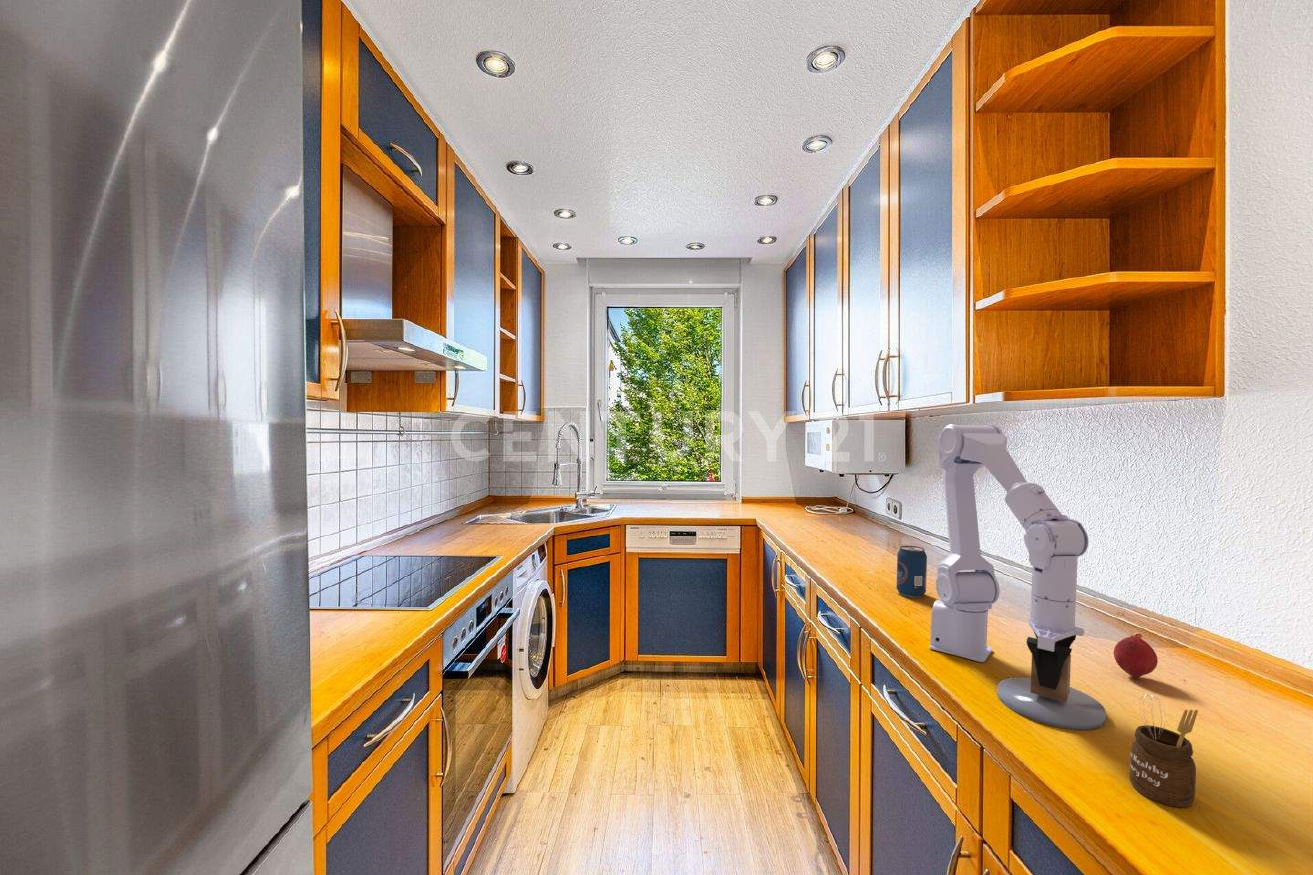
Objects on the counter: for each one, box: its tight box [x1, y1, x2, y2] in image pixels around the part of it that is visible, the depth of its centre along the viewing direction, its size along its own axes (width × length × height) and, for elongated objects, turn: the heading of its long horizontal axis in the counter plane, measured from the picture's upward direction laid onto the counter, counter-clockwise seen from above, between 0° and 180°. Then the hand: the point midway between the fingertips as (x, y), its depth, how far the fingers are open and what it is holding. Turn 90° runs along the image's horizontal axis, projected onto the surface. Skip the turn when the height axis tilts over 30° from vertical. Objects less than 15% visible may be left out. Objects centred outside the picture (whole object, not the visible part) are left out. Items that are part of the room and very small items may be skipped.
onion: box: [1113, 632, 1159, 679], centre depth 98 cm, size 6×6×8 cm
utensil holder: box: [1129, 694, 1199, 808], centre depth 68 cm, size 6×6×12 cm
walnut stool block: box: [1030, 653, 1072, 703], centre depth 88 cm, size 5×5×6 cm
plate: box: [996, 676, 1107, 731], centre depth 89 cm, size 14×14×1 cm
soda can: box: [896, 545, 928, 599], centre depth 144 cm, size 7×7×12 cm
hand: (1050, 681), depth 88 cm, fingers closed on walnut stool block, 5 cm apart
